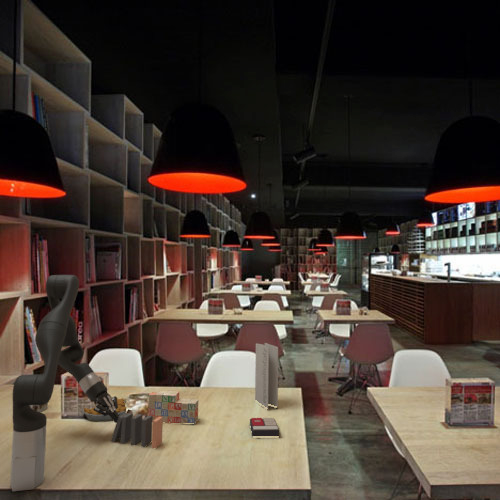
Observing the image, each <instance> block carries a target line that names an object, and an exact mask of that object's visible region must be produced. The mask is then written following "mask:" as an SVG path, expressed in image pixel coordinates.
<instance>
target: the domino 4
mask: <svg viewBox="0 0 500 500" xmlns="http://www.w3.org/2000/svg"><path fill="white" fill-rule="evenodd" d="M152 423H153V422H152V416H150V415H149V414H148V415H147V416H145V417H144V418H142V437H141V441H140V442H141V444H140V445H141V446H143V447H142V448H146V447H147V446H148V445H150V444H151V443H152V442H151V441H152ZM150 442H151V443H150ZM149 443H150V444H149ZM146 445H147V446H146ZM145 446H146V447H145Z"/></svg>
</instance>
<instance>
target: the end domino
mask: <svg viewBox="0 0 500 500" xmlns="http://www.w3.org/2000/svg"><path fill="white" fill-rule="evenodd" d="M163 424H164V423H163V417H158V418H156V419H155V420H153V422H152V442H151V448H152V449H154V448H156V447H157V448H158V447H159V446H161V445H162V444H163ZM161 443H162V444H161ZM160 444H161V445H160ZM157 448H156V449H157Z"/></svg>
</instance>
